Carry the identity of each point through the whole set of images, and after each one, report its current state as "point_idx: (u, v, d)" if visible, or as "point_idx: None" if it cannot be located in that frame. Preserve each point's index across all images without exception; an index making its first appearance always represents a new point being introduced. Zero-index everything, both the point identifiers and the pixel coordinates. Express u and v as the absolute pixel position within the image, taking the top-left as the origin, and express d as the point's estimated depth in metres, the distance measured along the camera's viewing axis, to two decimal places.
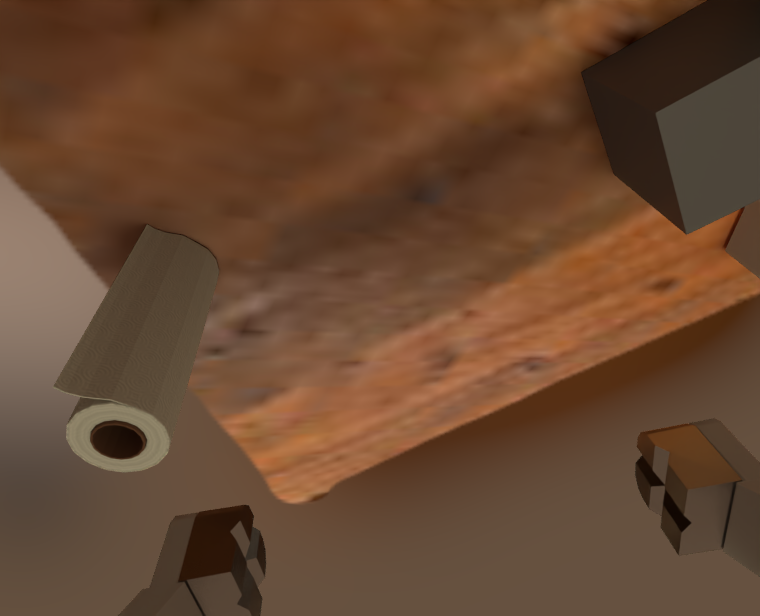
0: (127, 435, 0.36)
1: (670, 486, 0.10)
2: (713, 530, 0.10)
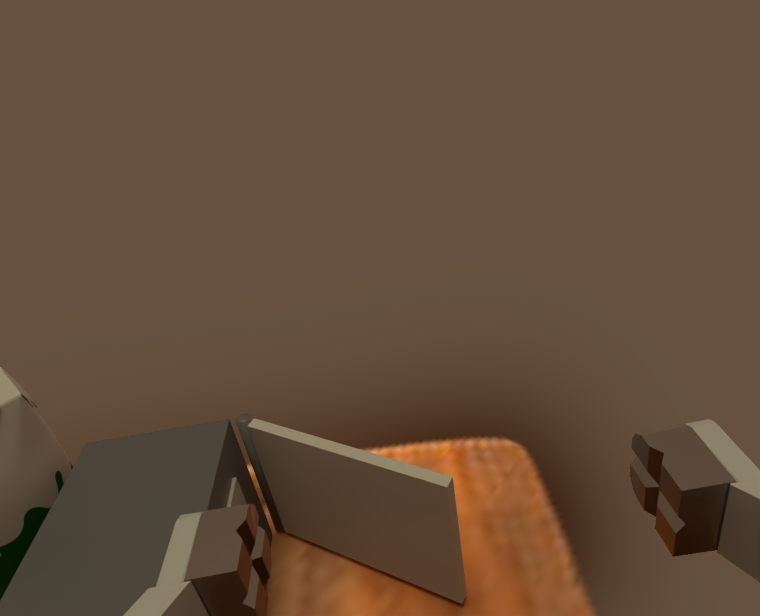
0: None
1: (664, 488, 0.10)
2: (707, 531, 0.10)
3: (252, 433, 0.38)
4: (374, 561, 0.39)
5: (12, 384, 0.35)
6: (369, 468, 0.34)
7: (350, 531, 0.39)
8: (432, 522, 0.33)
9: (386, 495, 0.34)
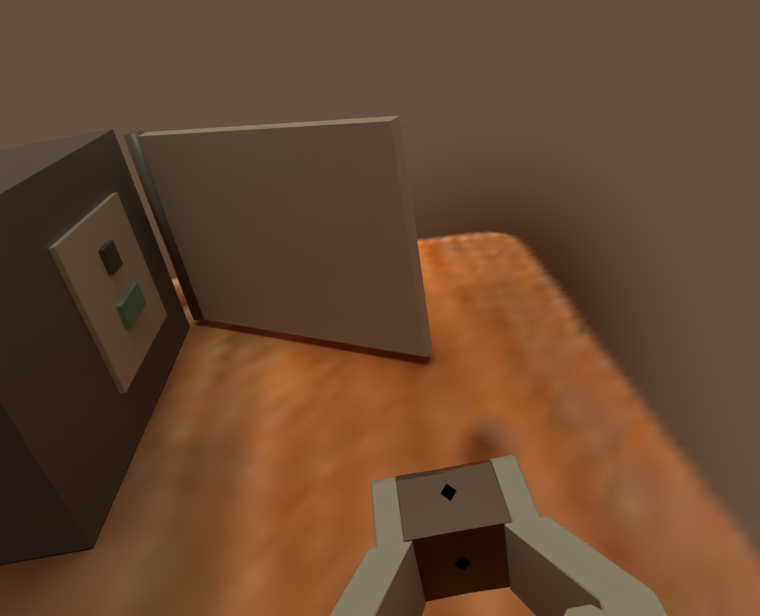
0: None
1: None
2: (495, 569, 0.10)
3: (144, 148, 0.29)
4: (311, 325, 0.29)
5: None
6: (287, 139, 0.24)
7: (277, 279, 0.29)
8: (376, 208, 0.24)
9: (314, 184, 0.25)
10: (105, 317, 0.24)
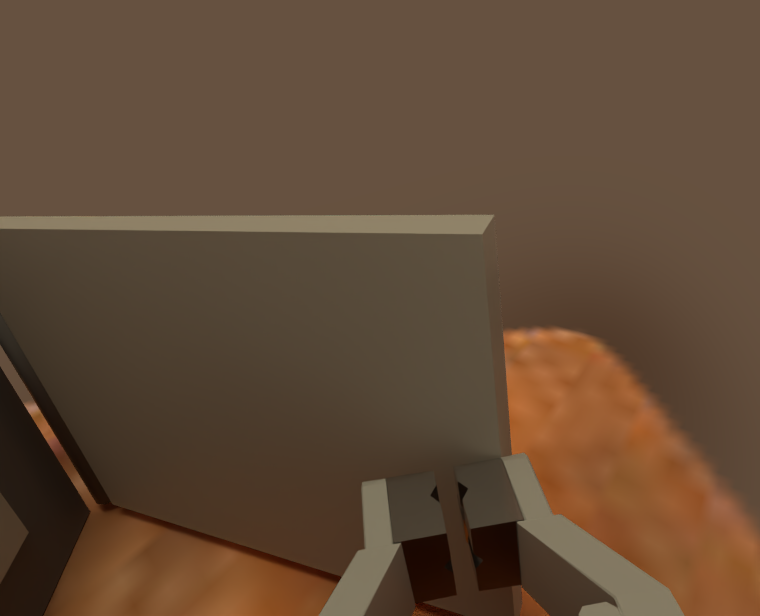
0: None
1: (466, 523, 0.10)
2: (507, 567, 0.10)
3: None
4: (294, 546, 0.17)
5: None
6: (234, 253, 0.11)
7: (231, 476, 0.16)
8: (432, 398, 0.11)
9: (296, 340, 0.12)
10: None
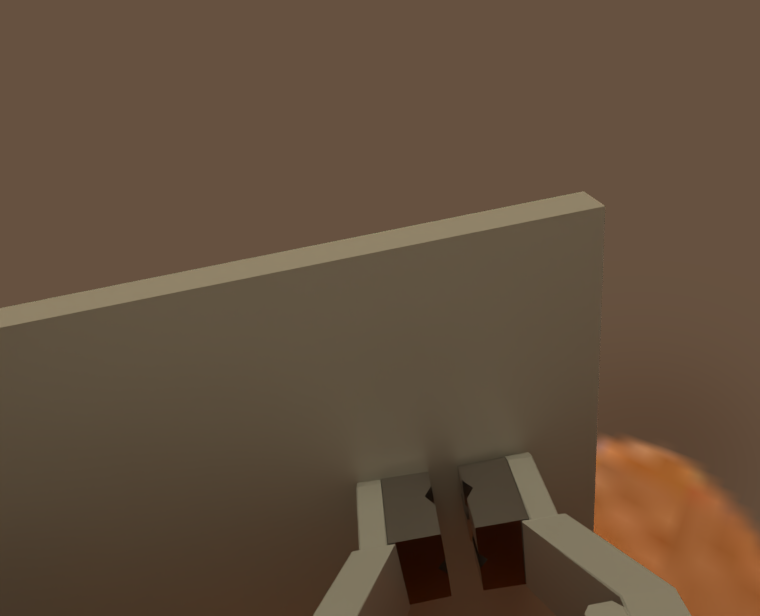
0: None
1: (470, 522, 0.10)
2: (511, 566, 0.10)
3: None
4: None
5: None
6: (297, 296, 0.09)
7: (250, 595, 0.13)
8: (533, 395, 0.11)
9: (372, 382, 0.10)
10: None
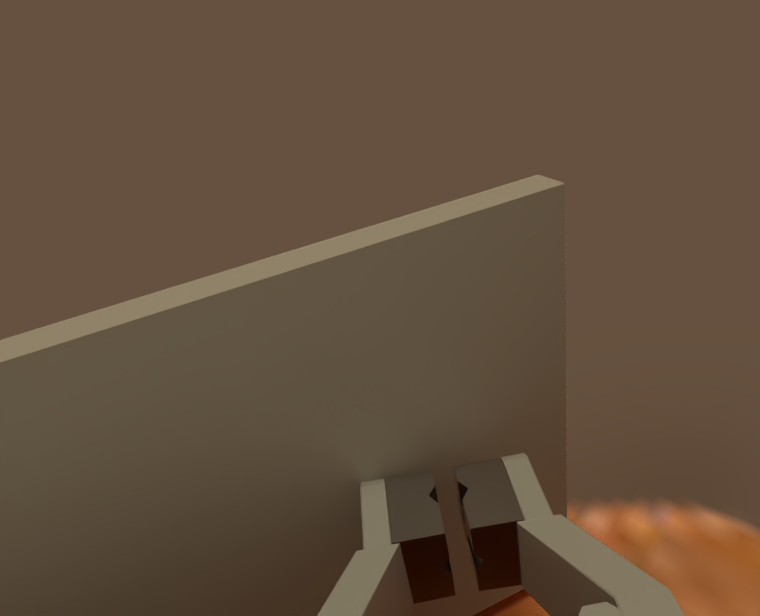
0: None
1: (466, 523, 0.10)
2: (507, 567, 0.10)
3: None
4: None
5: None
6: (302, 295, 0.09)
7: None
8: (514, 366, 0.12)
9: (374, 375, 0.10)
10: None
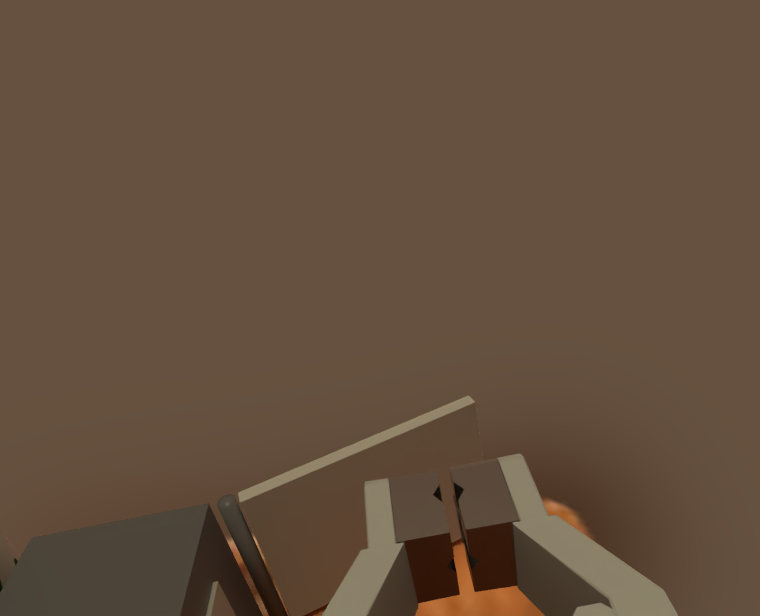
0: None
1: (462, 523, 0.10)
2: (503, 568, 0.10)
3: (248, 508, 0.31)
4: None
5: None
6: (400, 440, 0.33)
7: None
8: (463, 453, 0.36)
9: (419, 459, 0.34)
10: None
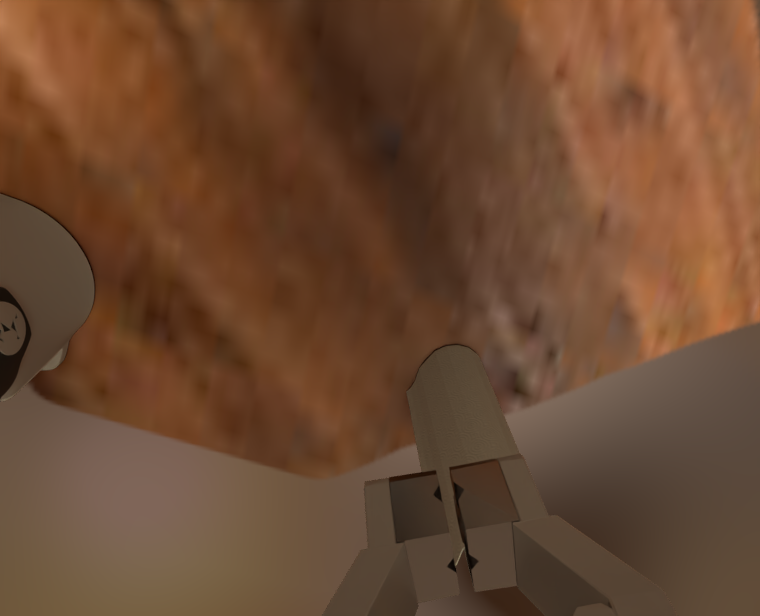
0: None
1: (462, 523, 0.10)
2: (503, 568, 0.10)
3: None
4: None
5: None
6: None
7: None
8: None
9: None
10: None
